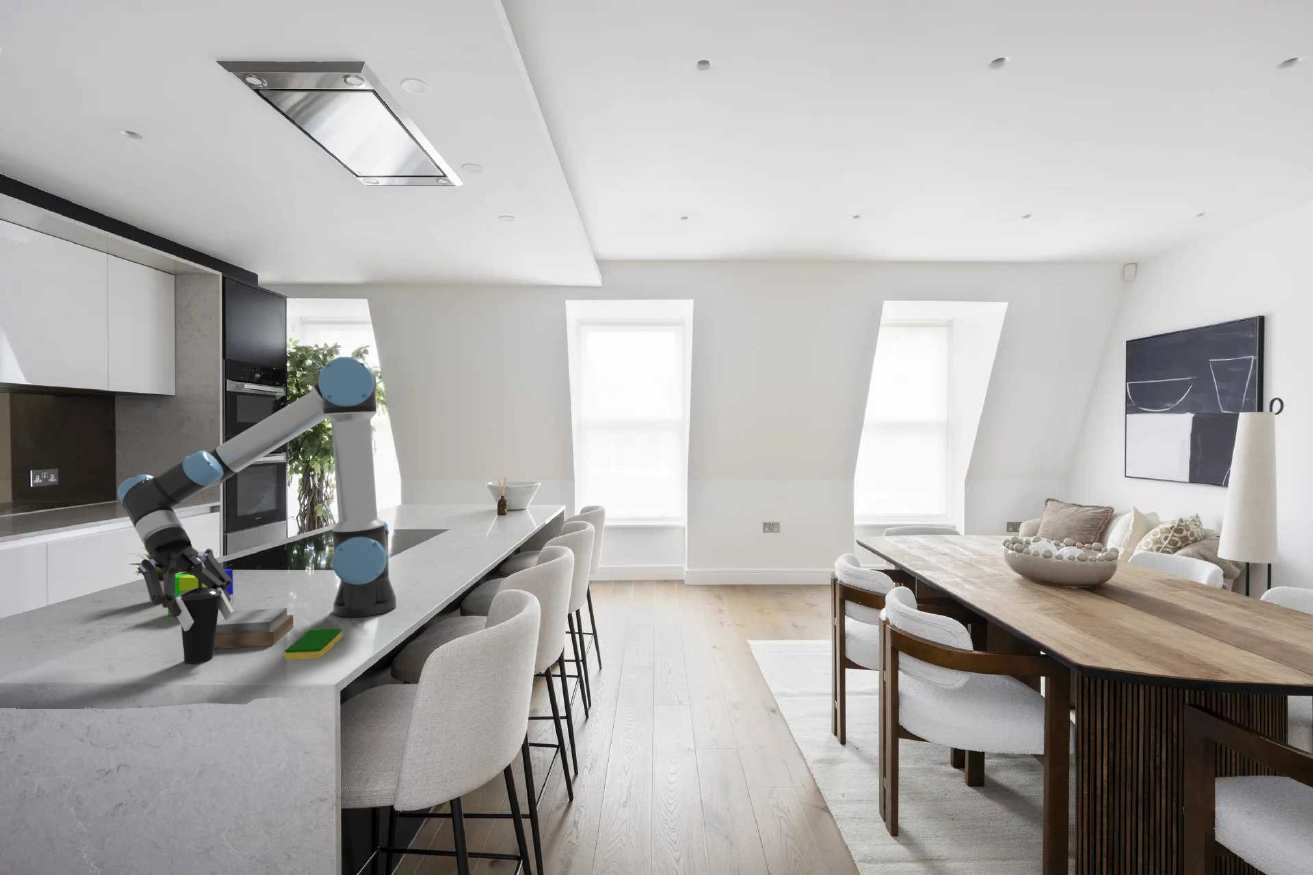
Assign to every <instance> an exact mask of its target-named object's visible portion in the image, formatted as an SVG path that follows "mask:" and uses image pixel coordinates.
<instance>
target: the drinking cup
mask: <svg viewBox="0 0 1313 875" xmlns="http://www.w3.org/2000/svg"><path fill="white" fill-rule="evenodd" d="M202 566H203V562H201V563H198V588H194V589H190V590H188V591H186V592H184V593H182V594H179V595H178V596H177V597H181V599H182V600H183V602H184V604H185V606H186V608H187V610H188V612H189V614H190V615H191V617H192V619H193V621H194V623H193V624H192V626H191V627H190V629H189V630H187V631H184V629H183V627H182V625H181V624H180V626H181V629H180V630H181V638H182V649H183V650H182V651H183V658H184V663H187V664H199V663H203V662H207V661H210V660H212V659H213V658H214V651H215V649H214V643H215V634H216V626H217V623H218V615H219V612H218V610H219V601H220V595H222V591H220V590H219V591H218V590H216V589H213V588H208V587H202Z"/></svg>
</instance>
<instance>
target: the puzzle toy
mask: <svg viewBox="0 0 1313 875" xmlns="http://www.w3.org/2000/svg"><path fill="white" fill-rule="evenodd" d="M223 569H224V571H225V572H226V573H227V574H228V576H229V577H230V578H231V580H232V582H231V584H230V586H229V587H228V589H227V590H226V591H227V592H228V594H229V596H230V598H231V600H230V602H229V603H230V605H231V606H232V607H234V573H233V572H234V571H233V570H234V569H233V568H227V569H226V568H223ZM202 587H207V586H206V585H204V584H203V583H202ZM194 588H198V579H197V578H196V577H195V576H193V575H189V574H188V573H187V572H180V573H177V574H175V597H174V598H175V599H176V597H177V596H178V595H179V594H182V593H184V592H186V591H188V590H190V589H194ZM218 611H219V610H218ZM219 612H220V611H219ZM168 615H171V613H170V611H169V610H168V609H167V616H168Z"/></svg>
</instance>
